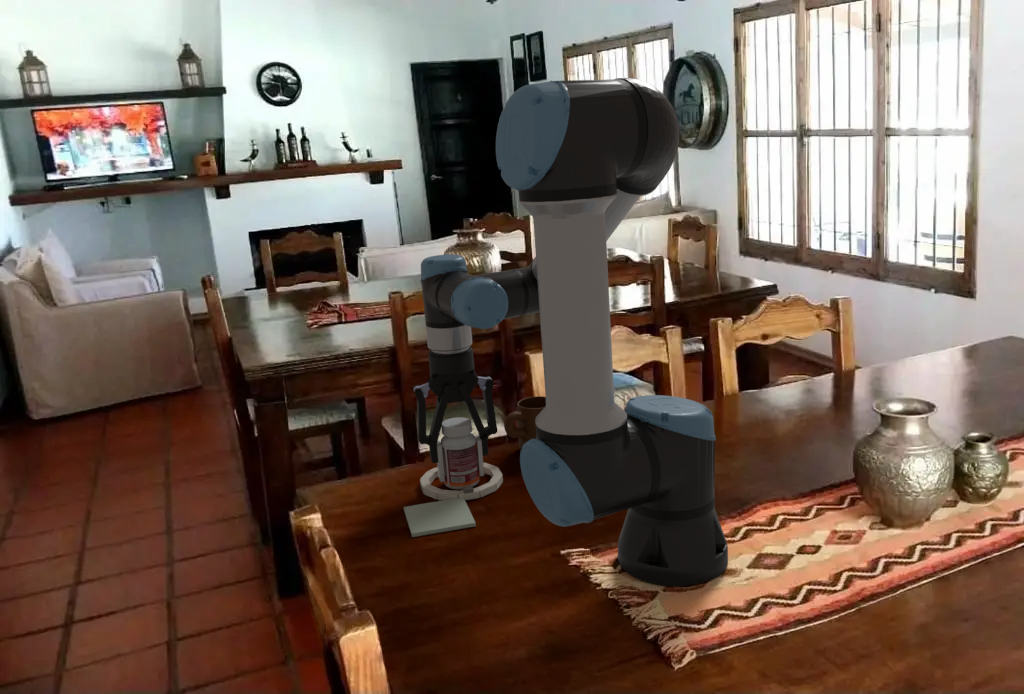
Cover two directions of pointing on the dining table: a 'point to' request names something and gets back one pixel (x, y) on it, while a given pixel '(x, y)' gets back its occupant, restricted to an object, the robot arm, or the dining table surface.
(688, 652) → the dining table surface
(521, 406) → the mug
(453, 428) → the pill bottle
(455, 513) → the coaster
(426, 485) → the collar
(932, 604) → the dining table surface
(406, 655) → the dining table surface
